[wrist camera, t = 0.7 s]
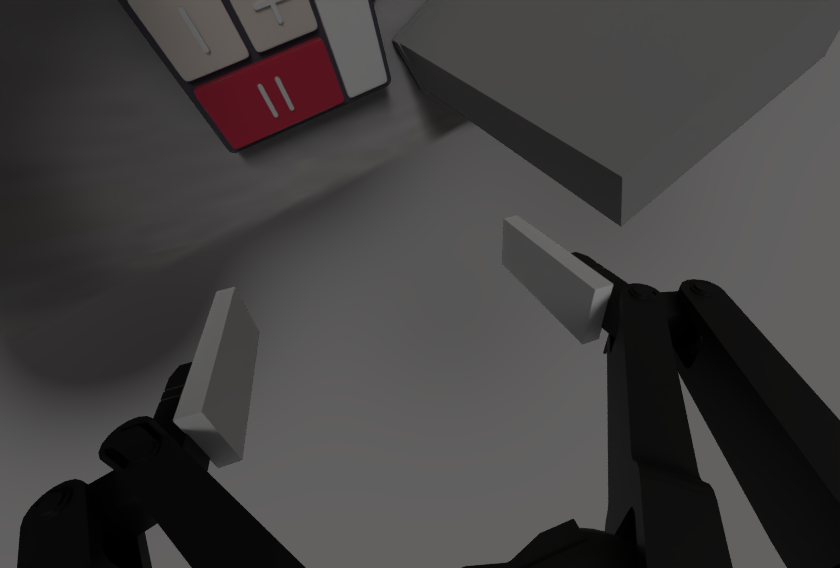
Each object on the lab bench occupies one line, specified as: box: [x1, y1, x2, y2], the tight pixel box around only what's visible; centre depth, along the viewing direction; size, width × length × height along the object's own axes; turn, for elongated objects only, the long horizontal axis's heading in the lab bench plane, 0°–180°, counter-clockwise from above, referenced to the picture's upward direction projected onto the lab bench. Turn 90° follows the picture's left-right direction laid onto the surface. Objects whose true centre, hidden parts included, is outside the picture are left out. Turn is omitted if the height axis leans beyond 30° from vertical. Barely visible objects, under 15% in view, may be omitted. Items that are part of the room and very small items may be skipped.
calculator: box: [118, 0, 391, 153], centre depth 25 cm, size 11×4×15 cm
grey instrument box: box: [392, 0, 840, 226], centre depth 25 cm, size 14×6×25 cm, turn 123°
